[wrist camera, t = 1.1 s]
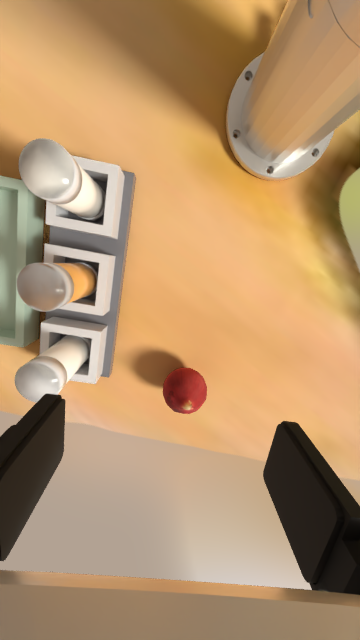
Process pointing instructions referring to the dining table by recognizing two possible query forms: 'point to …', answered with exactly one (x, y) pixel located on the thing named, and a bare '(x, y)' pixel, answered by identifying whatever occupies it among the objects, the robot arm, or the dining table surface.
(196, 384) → the onion
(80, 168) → the cylinder
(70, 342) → the cylinder
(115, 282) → the fuse holder
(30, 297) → the marked fuse
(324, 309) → the dining table surface
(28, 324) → the tray
